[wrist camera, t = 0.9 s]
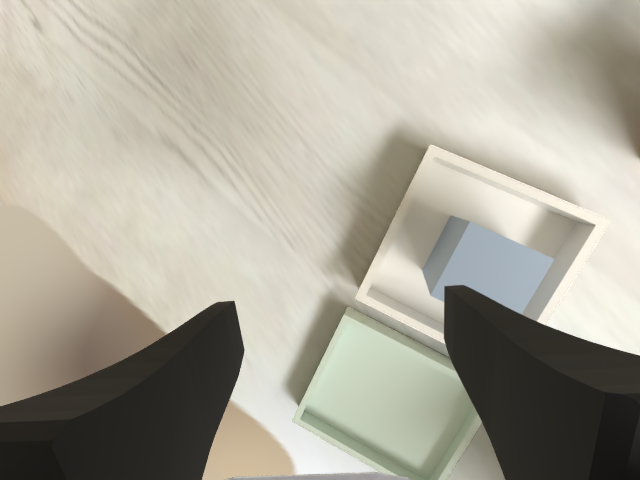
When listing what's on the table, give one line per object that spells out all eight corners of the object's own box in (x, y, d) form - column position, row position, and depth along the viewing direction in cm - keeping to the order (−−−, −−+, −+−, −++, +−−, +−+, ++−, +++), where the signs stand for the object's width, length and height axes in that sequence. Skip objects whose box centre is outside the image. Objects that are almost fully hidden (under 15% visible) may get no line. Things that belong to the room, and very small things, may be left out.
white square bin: (587, 217, 24) (611, 220, 21) (501, 359, 26) (513, 378, 23) (426, 149, 25) (430, 144, 23) (358, 288, 28) (354, 298, 25)
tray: (492, 379, 26) (499, 394, 24) (430, 481, 28) (432, 502, 26) (347, 306, 28) (343, 314, 26) (298, 406, 30) (291, 421, 28)
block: (511, 242, 25) (554, 259, 18) (479, 298, 25) (509, 333, 19) (450, 215, 25) (470, 221, 18) (421, 270, 26) (430, 295, 19)
